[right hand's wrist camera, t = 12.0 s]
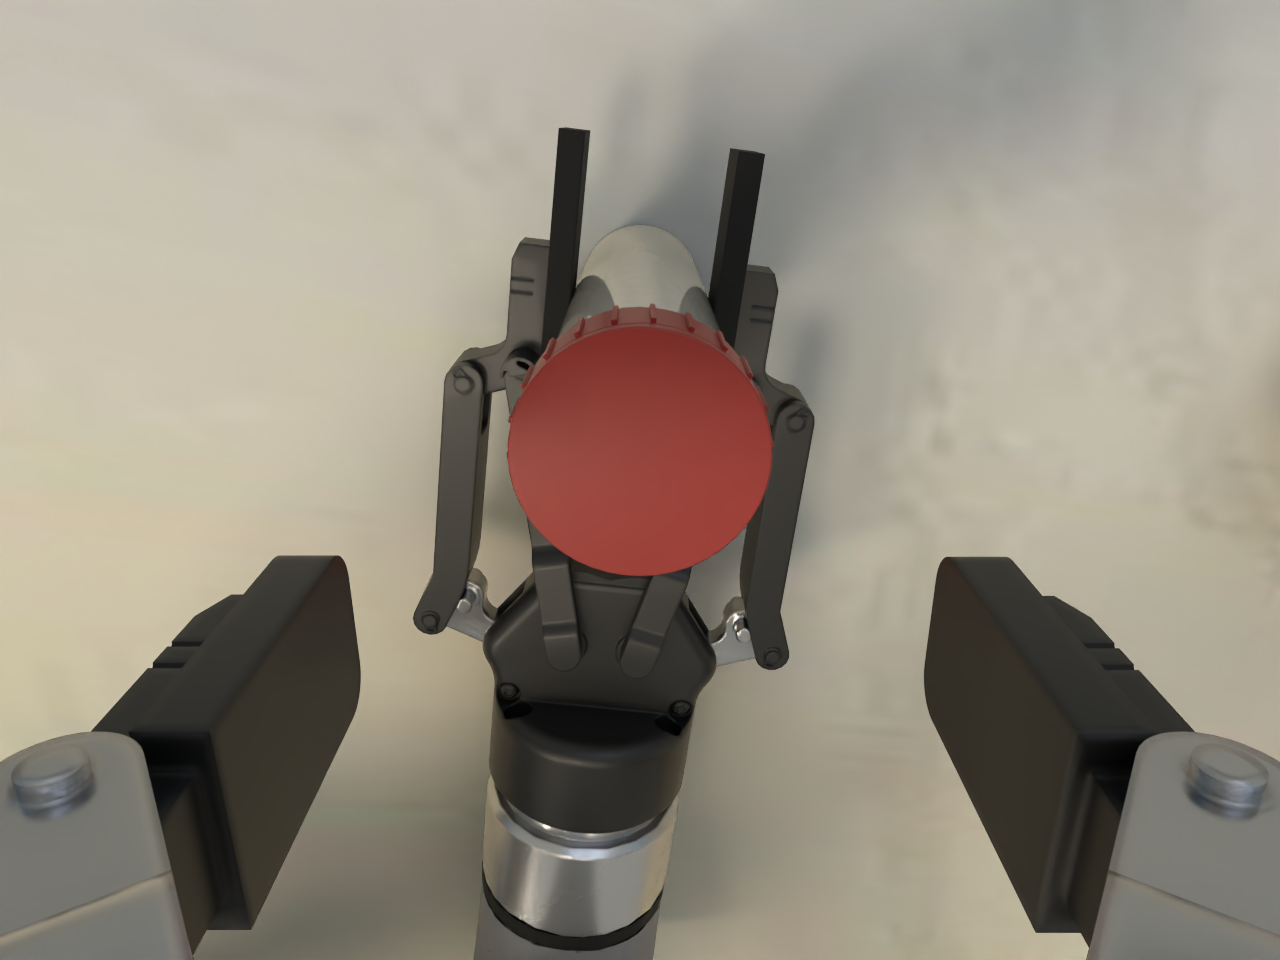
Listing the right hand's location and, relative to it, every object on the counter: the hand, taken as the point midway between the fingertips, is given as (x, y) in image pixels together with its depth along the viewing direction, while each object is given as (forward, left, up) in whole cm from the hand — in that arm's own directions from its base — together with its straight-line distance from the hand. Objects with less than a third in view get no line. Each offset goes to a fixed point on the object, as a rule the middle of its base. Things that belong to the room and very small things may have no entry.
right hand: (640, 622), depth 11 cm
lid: (0, 0, -6) cm, 6 cm away
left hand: (+4, +3, -19) cm, 20 cm away
